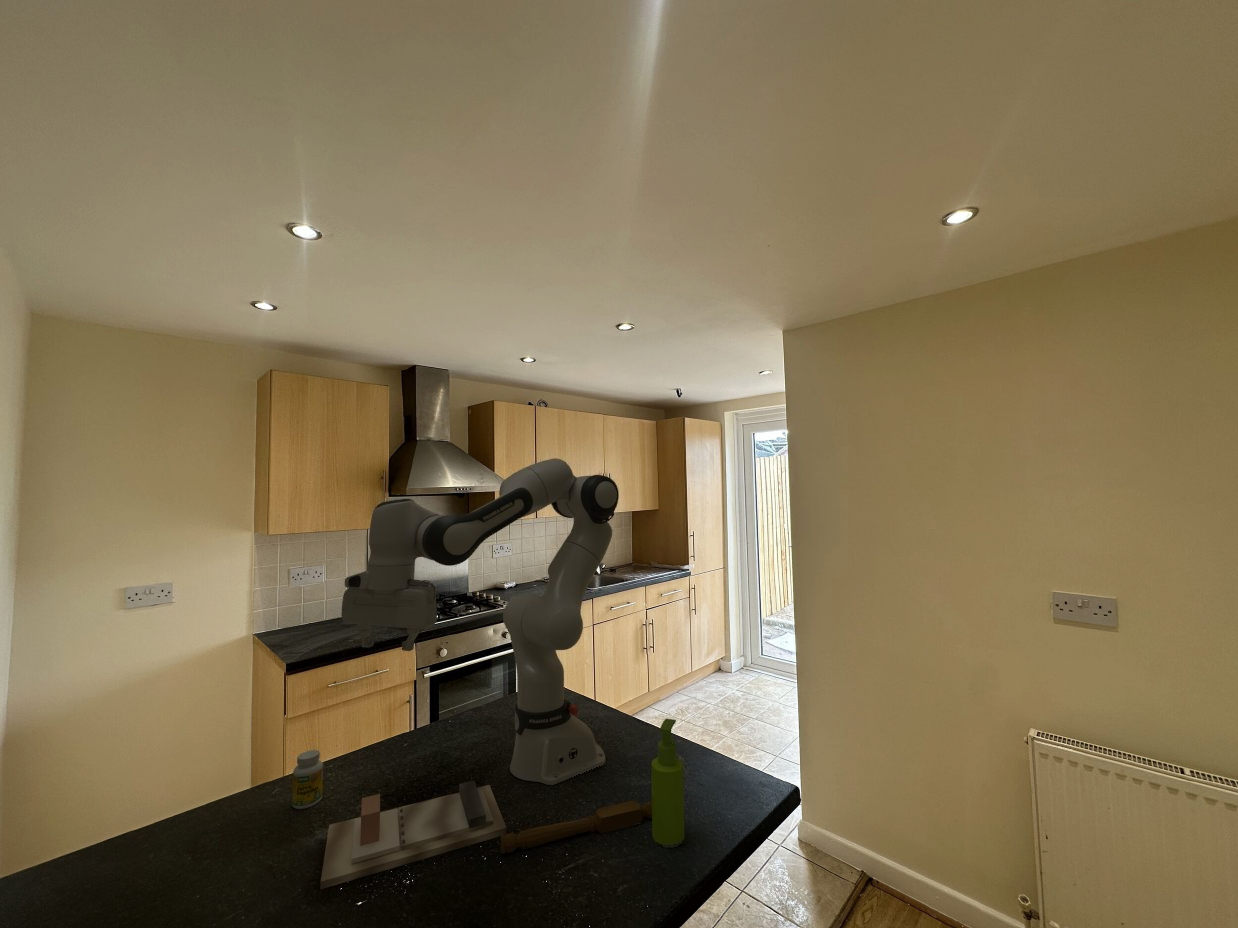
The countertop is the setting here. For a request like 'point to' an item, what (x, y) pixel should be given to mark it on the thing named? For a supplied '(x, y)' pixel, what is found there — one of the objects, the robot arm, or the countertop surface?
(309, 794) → the supplement bottle
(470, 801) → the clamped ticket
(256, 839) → the countertop surface
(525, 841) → the tap handle
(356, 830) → the stub
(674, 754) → the soap dispenser
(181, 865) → the countertop surface
